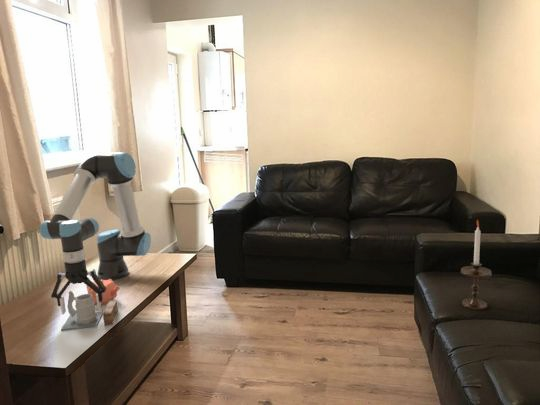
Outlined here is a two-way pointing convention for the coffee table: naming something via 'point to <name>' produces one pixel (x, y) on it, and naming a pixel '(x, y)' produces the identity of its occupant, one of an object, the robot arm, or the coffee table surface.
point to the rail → (110, 313)
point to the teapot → (108, 294)
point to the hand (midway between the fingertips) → (81, 311)
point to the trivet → (74, 324)
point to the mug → (82, 308)
